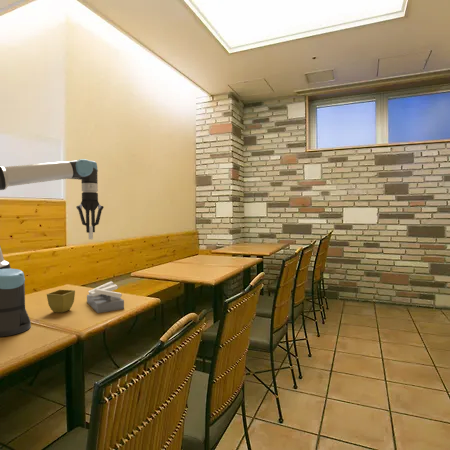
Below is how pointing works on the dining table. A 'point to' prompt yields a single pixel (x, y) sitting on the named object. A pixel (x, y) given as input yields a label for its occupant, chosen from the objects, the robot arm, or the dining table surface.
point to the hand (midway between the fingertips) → (90, 239)
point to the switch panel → (105, 303)
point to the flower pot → (61, 300)
